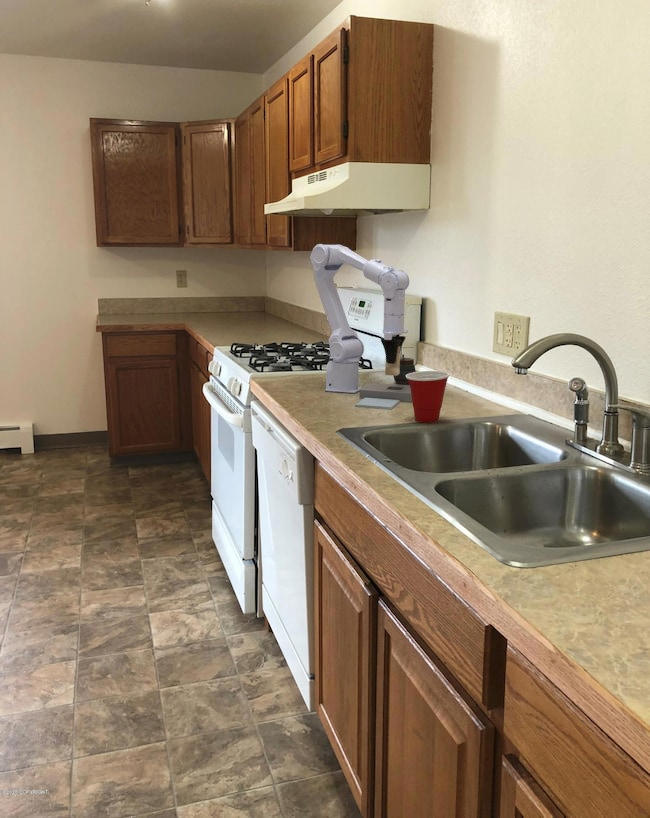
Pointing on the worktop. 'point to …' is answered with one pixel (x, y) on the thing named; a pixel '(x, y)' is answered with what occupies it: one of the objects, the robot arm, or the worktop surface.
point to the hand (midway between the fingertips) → (392, 362)
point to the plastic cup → (427, 394)
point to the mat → (377, 403)
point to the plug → (393, 366)
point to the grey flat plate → (386, 392)
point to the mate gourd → (405, 370)
